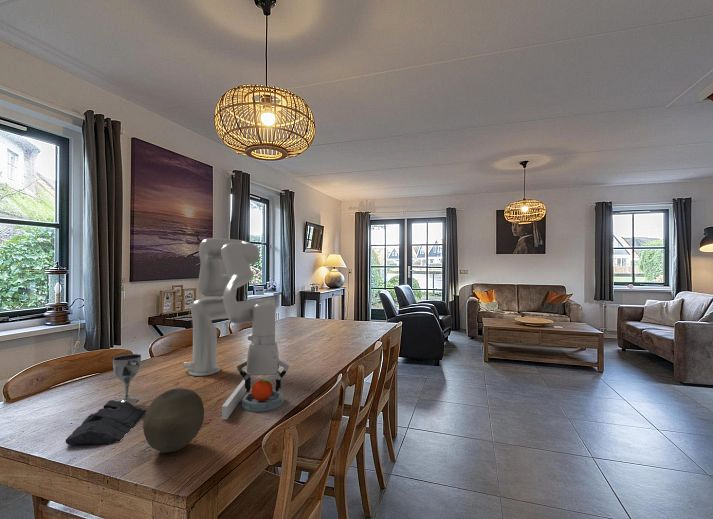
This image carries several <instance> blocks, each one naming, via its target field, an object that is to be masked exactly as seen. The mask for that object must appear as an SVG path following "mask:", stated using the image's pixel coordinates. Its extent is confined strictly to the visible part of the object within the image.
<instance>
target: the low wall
mask: <svg viewBox="0 0 713 519" xmlns="http://www.w3.org/2000/svg"><path fill="white" fill-rule="evenodd" d="M245 394H247V392H246V389H245V380H244V379H242V380H241V382H240V383H239V384H238V386H237V387H236V388H235V389H234V391H233V392H231V394H230V396H229V397H228V398H227V399H226V401H225V402H224V403H223V405H222V406H221V420H223V421H224V420H226V421H227V420H228V419H229V418H230V415H231V414H232V413H233V411H234V410H235V409H236V407H237V406H238V404H239V402H241V401H242V399H243V397H244V396H245Z"/></svg>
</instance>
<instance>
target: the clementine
mask: <svg viewBox="0 0 713 519" xmlns="http://www.w3.org/2000/svg"><path fill="white" fill-rule="evenodd" d="M272 383H274V385H275V387H276V382H274V381H273V380H271V379H259V380H257V381H255V383H253V385H252V386H251V392H252V396H253V398H254V399H255V400H257V401H265V400H267V399H269V398H270V396H271V395H272V391H273V390H274V389H273V388H274V387H273V385H272Z"/></svg>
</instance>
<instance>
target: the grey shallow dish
mask: <svg viewBox="0 0 713 519" xmlns="http://www.w3.org/2000/svg"><path fill="white" fill-rule="evenodd" d="M283 404H284V393H283V392H280V391H279V390H278V392H276V389H273V391H272V395H271V396H270V398H269V399H267V400H265V401H257V400H255V399H254V398H253V396H252V391H251V392H250V391H249V392H246V393H245V394H244V396H243V397H242V399H241V408H242V409H244V410H245V411H247V412H252V413H253V412H254V413H259V412H260V413H263V412H269V411H274V410H276V409H278V408H280V407H281V406H282V405H283Z"/></svg>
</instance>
